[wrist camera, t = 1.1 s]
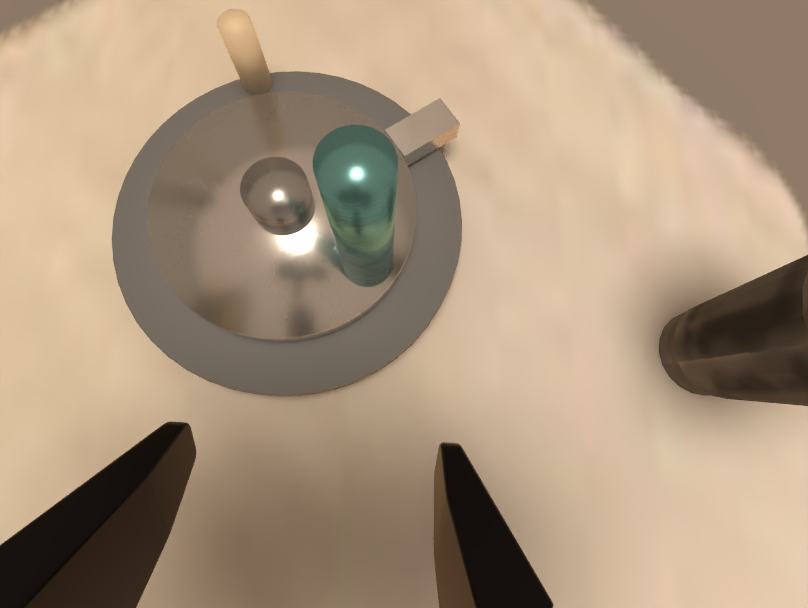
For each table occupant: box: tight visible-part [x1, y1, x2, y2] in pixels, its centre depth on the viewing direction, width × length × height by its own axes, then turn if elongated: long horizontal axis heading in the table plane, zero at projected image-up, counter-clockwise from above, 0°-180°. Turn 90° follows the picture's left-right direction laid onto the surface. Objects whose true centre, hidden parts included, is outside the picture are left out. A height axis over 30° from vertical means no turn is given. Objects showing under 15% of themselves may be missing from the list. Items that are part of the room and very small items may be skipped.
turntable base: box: [112, 9, 462, 396], centre depth 22 cm, size 18×18×6 cm
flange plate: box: [147, 92, 460, 342], centre depth 18 cm, size 15×14×10 cm
